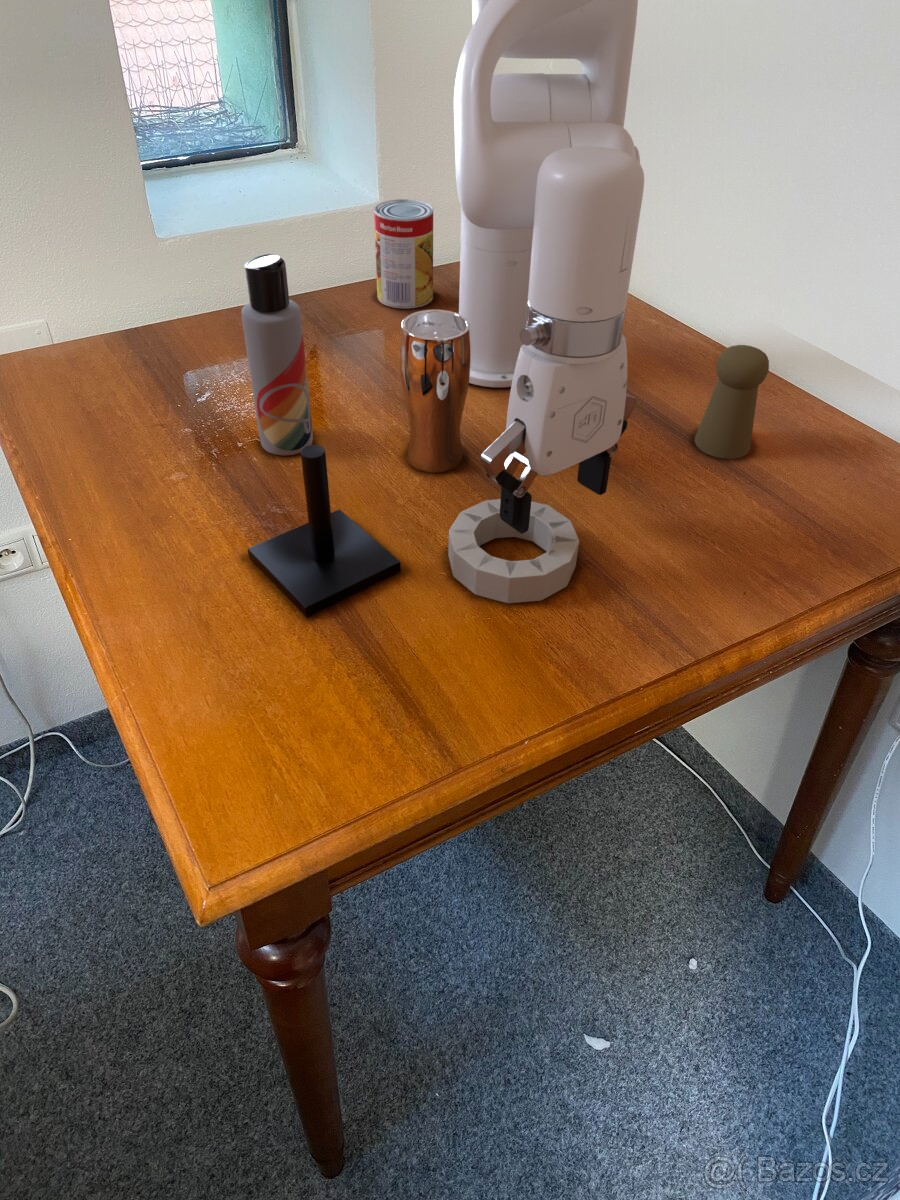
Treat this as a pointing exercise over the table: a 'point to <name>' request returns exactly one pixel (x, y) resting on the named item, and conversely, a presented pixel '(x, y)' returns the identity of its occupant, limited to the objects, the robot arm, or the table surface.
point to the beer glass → (435, 386)
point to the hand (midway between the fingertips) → (553, 506)
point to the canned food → (404, 253)
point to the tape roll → (512, 576)
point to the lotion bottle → (276, 358)
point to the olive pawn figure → (733, 403)
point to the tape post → (322, 549)
